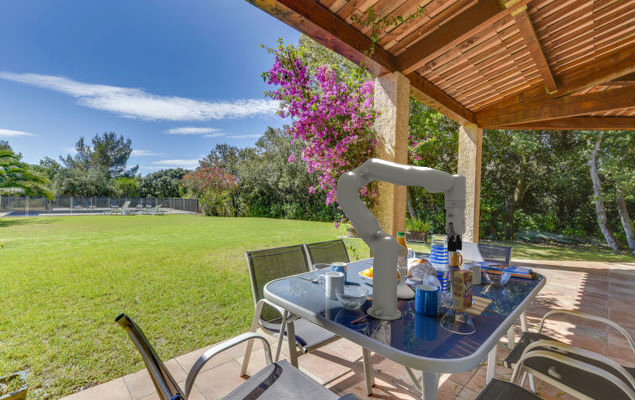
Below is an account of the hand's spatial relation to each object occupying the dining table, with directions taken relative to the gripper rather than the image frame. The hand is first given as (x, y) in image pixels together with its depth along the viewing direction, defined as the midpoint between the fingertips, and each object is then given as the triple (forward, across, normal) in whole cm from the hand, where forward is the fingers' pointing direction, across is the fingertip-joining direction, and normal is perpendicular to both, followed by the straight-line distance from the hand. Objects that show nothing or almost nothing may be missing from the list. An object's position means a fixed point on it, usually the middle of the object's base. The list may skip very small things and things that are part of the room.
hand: (454, 250), depth 110 cm
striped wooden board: (+25, +18, 0) cm, 31 cm away
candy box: (+25, +10, 0) cm, 27 cm away
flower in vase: (+26, +6, +26) cm, 37 cm away
